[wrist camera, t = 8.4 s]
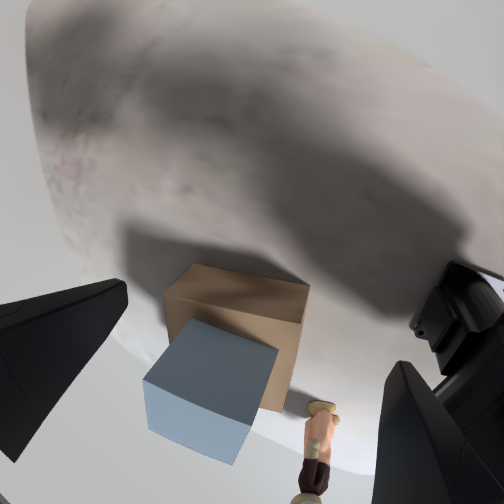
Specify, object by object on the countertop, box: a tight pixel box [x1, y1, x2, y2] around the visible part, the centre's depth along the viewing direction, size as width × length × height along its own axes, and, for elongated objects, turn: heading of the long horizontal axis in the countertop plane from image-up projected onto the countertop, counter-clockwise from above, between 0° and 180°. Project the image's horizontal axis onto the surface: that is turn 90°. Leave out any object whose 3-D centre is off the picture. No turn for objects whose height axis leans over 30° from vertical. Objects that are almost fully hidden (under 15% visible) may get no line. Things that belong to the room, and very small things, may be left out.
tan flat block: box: [163, 263, 310, 413], centre depth 22 cm, size 9×9×5 cm
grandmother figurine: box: [291, 401, 340, 504], centre depth 20 cm, size 8×4×13 cm, turn 30°
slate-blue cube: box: [143, 318, 279, 465], centre depth 17 cm, size 6×6×6 cm
